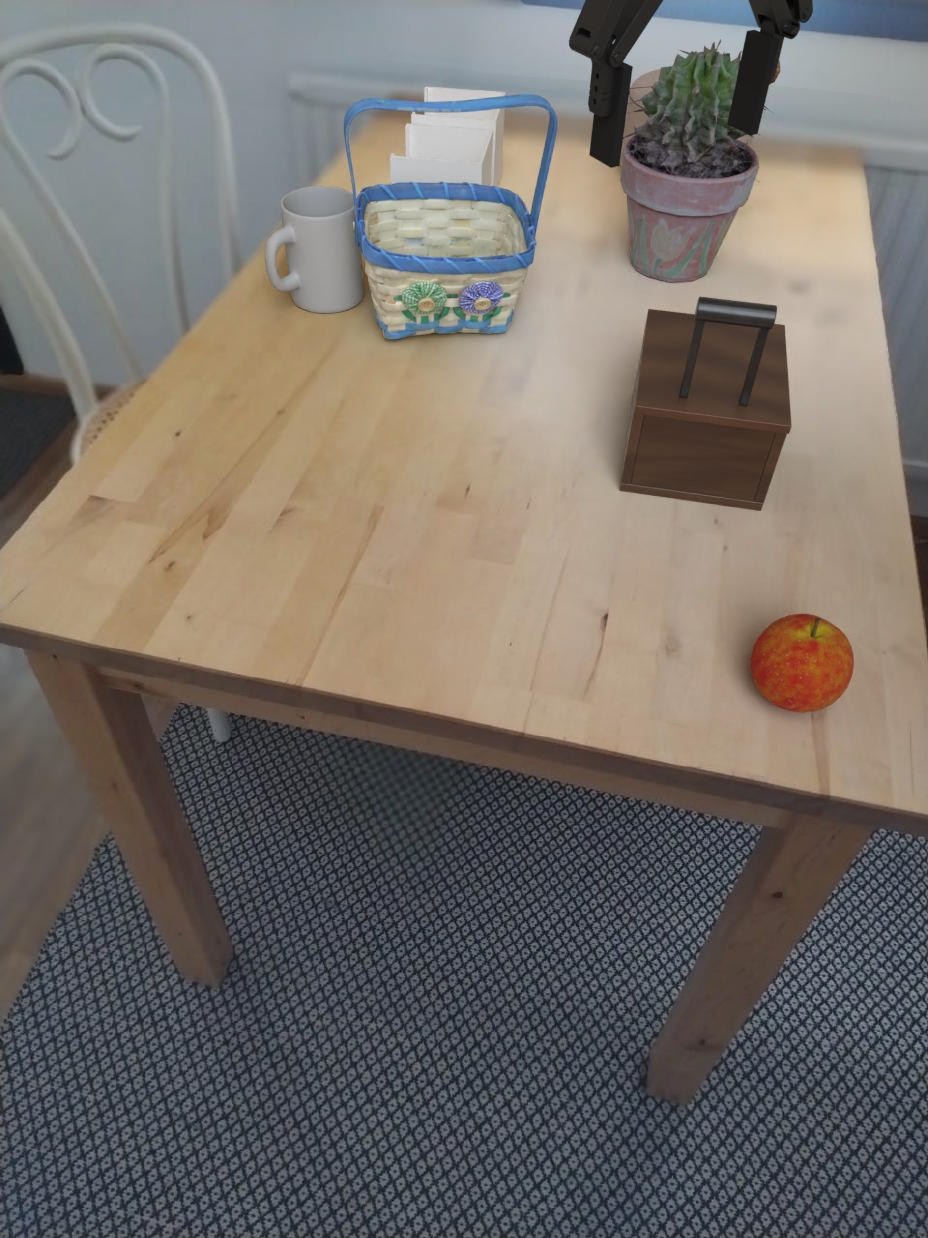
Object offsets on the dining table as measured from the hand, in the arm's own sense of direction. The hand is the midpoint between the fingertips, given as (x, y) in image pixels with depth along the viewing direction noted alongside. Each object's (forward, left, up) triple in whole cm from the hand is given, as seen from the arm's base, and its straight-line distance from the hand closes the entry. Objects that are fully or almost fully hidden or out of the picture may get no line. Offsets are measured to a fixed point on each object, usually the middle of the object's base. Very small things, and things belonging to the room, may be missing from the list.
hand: (675, 144), depth 71 cm
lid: (-7, +1, -18) cm, 19 cm away
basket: (+21, -18, -27) cm, 39 cm away
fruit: (-15, +29, -27) cm, 43 cm away
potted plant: (-2, -38, -27) cm, 46 cm away
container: (-3, -67, -27) cm, 72 cm away
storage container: (+27, -47, -27) cm, 60 cm away
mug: (+37, -19, -27) cm, 50 cm away
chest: (-7, 0, -27) cm, 28 cm away
